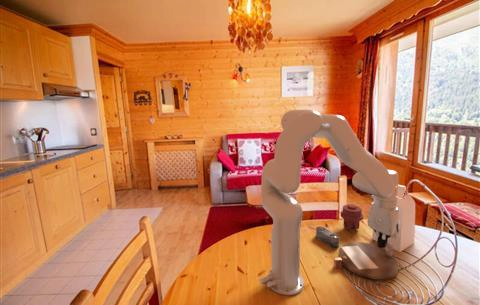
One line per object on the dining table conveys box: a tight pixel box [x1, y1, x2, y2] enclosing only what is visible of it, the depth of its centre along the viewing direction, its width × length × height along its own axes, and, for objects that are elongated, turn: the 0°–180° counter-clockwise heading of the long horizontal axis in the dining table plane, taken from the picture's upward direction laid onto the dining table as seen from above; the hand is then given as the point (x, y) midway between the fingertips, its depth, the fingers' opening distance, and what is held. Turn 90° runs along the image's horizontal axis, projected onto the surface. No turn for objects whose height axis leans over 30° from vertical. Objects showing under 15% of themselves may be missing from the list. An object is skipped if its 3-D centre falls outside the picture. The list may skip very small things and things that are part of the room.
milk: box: [371, 184, 416, 253], centre depth 106 cm, size 12×12×26 cm
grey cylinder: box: [315, 226, 340, 249], centre depth 109 cm, size 4×12×4 cm, turn 26°
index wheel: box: [338, 241, 399, 280], centre depth 92 cm, size 20×20×6 cm
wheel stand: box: [333, 256, 343, 270], centre depth 92 cm, size 15×8×4 cm, turn 116°
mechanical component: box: [340, 203, 364, 234], centre depth 118 cm, size 12×10×10 cm
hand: (381, 246), depth 95 cm, fingers closed
